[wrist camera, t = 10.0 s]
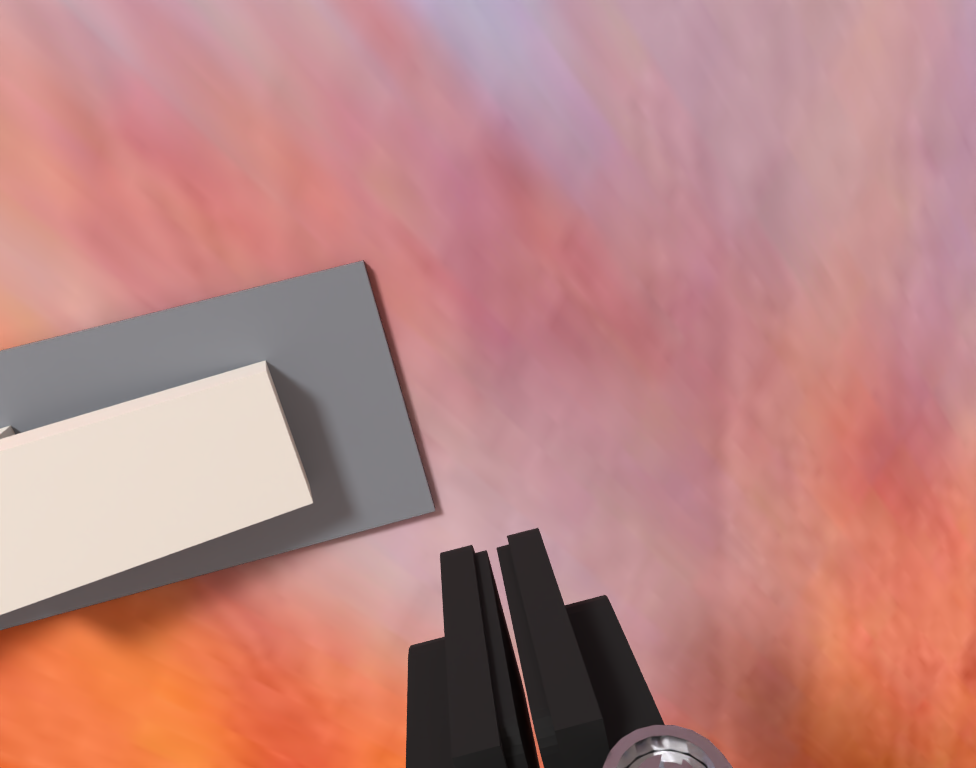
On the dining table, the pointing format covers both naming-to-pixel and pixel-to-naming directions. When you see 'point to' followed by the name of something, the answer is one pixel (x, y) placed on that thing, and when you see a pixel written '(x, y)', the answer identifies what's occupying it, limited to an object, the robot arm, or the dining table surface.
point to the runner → (301, 390)
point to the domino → (143, 482)
